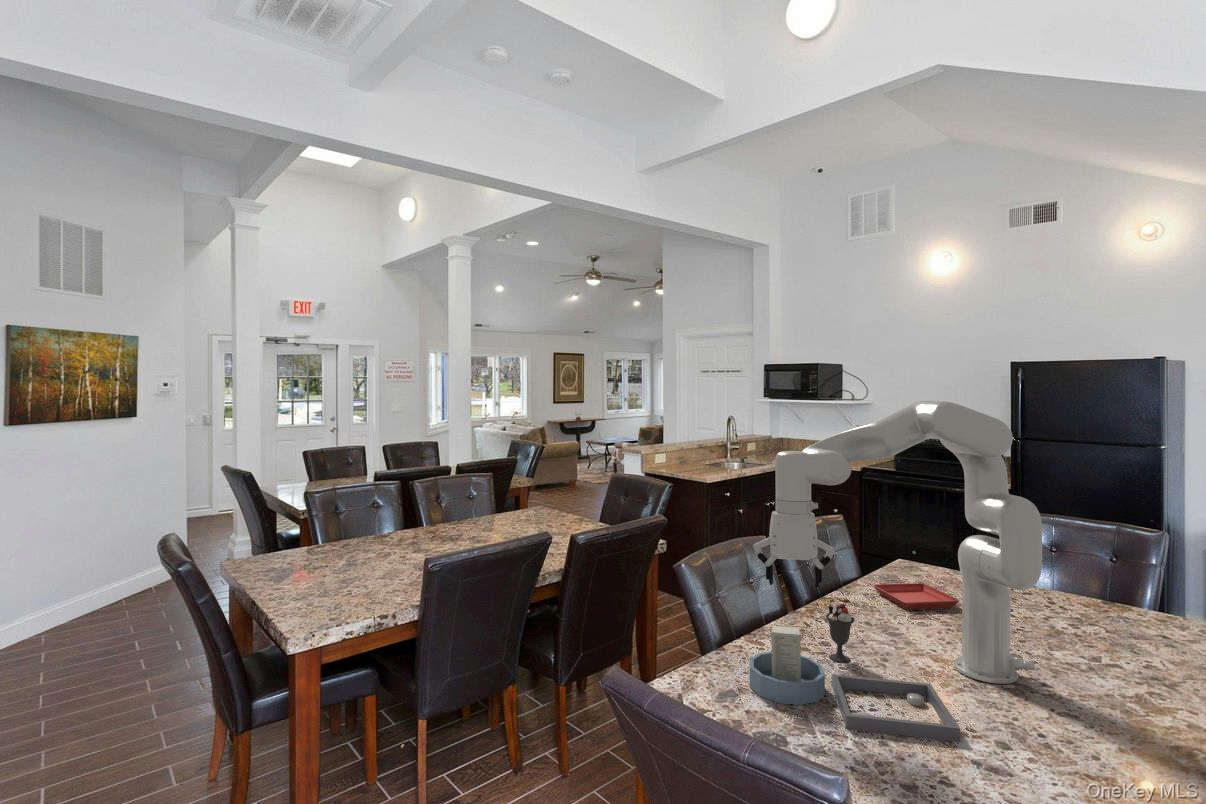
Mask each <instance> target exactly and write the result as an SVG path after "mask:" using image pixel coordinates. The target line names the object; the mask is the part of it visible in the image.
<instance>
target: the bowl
mask: <svg viewBox="0 0 1206 804" xmlns="http://www.w3.org/2000/svg"><path fill="white" fill-rule="evenodd" d="M749 688H750V689H751V690H753V692H754V693H756V694H757V695H758V696H759V697H760V698H764V699H766V700H769V701H771V702H774V703H777V704H781V705H782V704H783V705H790V704H794V705H793V706H803V705H802V704H805V705H807V704H806V703H811V704H814V703H813V702H817V701H818V702H819V701H821V699H822V698H824V697H825V693H826V690H825V688H826V674H825V671H824V668H823V665H822V664H820V663H818V662H817V661H816V660H814V659H813V658H811V657H807V656H804V655H802V654H801V682H793V681H783V680H778V679H775V678H772V651H765V652H759V653H756V654H755V655H753V656H752V657H750V658H749ZM818 702H817V703H818Z"/></svg>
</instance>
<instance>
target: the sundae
mask: <svg viewBox="0 0 1206 804" xmlns="http://www.w3.org/2000/svg"><path fill="white" fill-rule="evenodd" d="M849 602H850V599H848V598H847V599H846V600H845V601H844V602H843V603H840V604H839V605H836V606H832V605H829V606H828V613H827V614H826V615H825V618H826V619H827V620H828V624H829V625H828V626H829V634H830V638H831V640H832V641H833V642H834V644H835V645H836V646H837V647H836V652H835V653H830V654H829V656H828V658H829V659H830V661H832V660H833V662H835V663H839V664H845V663H846V664H848V663H849V662H851V658H850V657H849V656H847V655H845V654H844V653H843V646H844V645H845V644H846V645H847V643H848V641H849V639H850V634H851V628H852V624H853V623H854V622H855V619H856V618H855V617H854V616H852V615H851V613H850V612H849V609H848V608H847V607H846V604H847V603H849Z"/></svg>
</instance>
